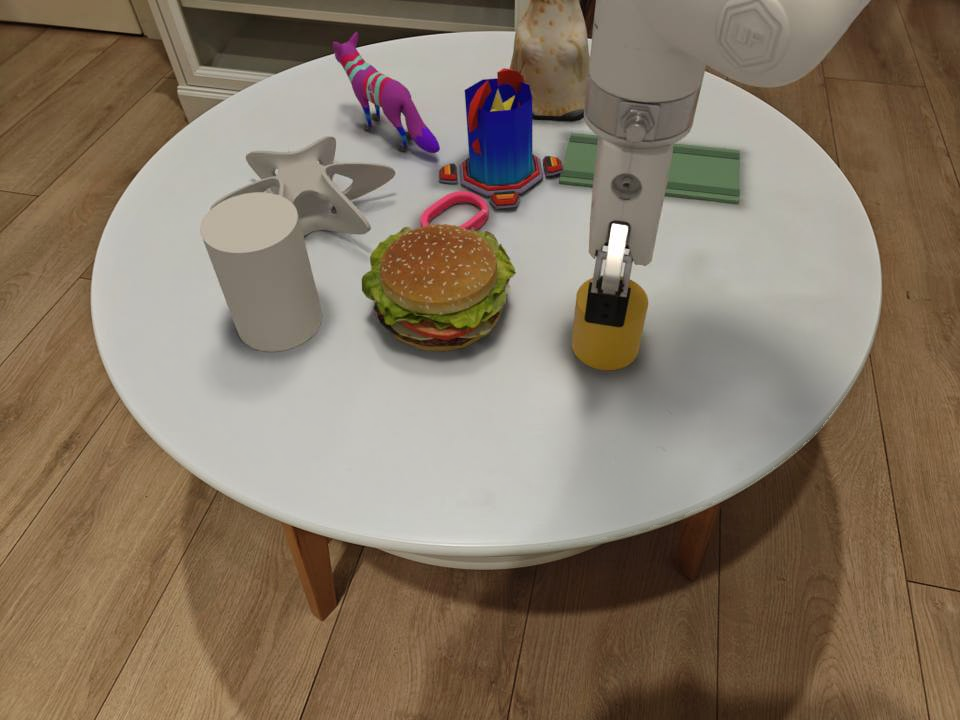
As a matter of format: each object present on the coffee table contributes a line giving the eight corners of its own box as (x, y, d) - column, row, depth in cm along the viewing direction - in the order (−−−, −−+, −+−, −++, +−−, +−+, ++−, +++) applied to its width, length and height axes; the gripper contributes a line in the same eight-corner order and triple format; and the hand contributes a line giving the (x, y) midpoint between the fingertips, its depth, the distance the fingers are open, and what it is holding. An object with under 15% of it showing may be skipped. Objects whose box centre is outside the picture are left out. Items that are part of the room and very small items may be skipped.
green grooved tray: (738, 153, 91) (739, 149, 90) (738, 203, 84) (739, 200, 84) (571, 135, 94) (571, 131, 93) (558, 183, 87) (559, 179, 87)
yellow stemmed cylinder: (641, 326, 72) (653, 266, 67) (636, 375, 68) (648, 315, 63) (576, 317, 73) (582, 256, 67) (567, 365, 69) (573, 305, 64)
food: (533, 276, 77) (535, 212, 71) (483, 376, 69) (482, 313, 63) (409, 246, 81) (401, 183, 75) (347, 338, 72) (333, 275, 66)
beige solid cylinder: (290, 279, 78) (262, 181, 68) (339, 319, 74) (316, 220, 65) (221, 320, 74) (182, 222, 65) (268, 365, 70) (234, 266, 61)
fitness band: (449, 251, 80) (448, 240, 79) (409, 228, 83) (408, 217, 81) (499, 214, 84) (499, 203, 83) (460, 193, 86) (460, 182, 85)
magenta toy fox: (355, 102, 100) (343, 24, 92) (451, 156, 91) (446, 75, 84) (333, 114, 98) (318, 35, 90) (428, 170, 90) (421, 88, 82)
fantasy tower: (507, 214, 83) (503, 112, 74) (429, 177, 89) (417, 78, 80) (572, 165, 89) (576, 66, 80) (495, 133, 94) (491, 37, 86)
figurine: (501, 118, 97) (501, -50, 82) (507, 76, 103) (508, -86, 88) (594, 122, 96) (612, -47, 81) (594, 79, 102) (610, -84, 87)
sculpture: (309, 297, 76) (296, 248, 71) (190, 217, 85) (172, 168, 80) (430, 212, 84) (426, 163, 80) (311, 147, 93) (301, 100, 88)
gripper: (691, 180, 46) (646, 364, 59) (701, 44, 57) (661, 224, 70) (568, 165, 47) (550, 349, 60) (600, 34, 58) (580, 213, 71)
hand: (610, 282), depth 65 cm, fingers open, 9 cm apart
